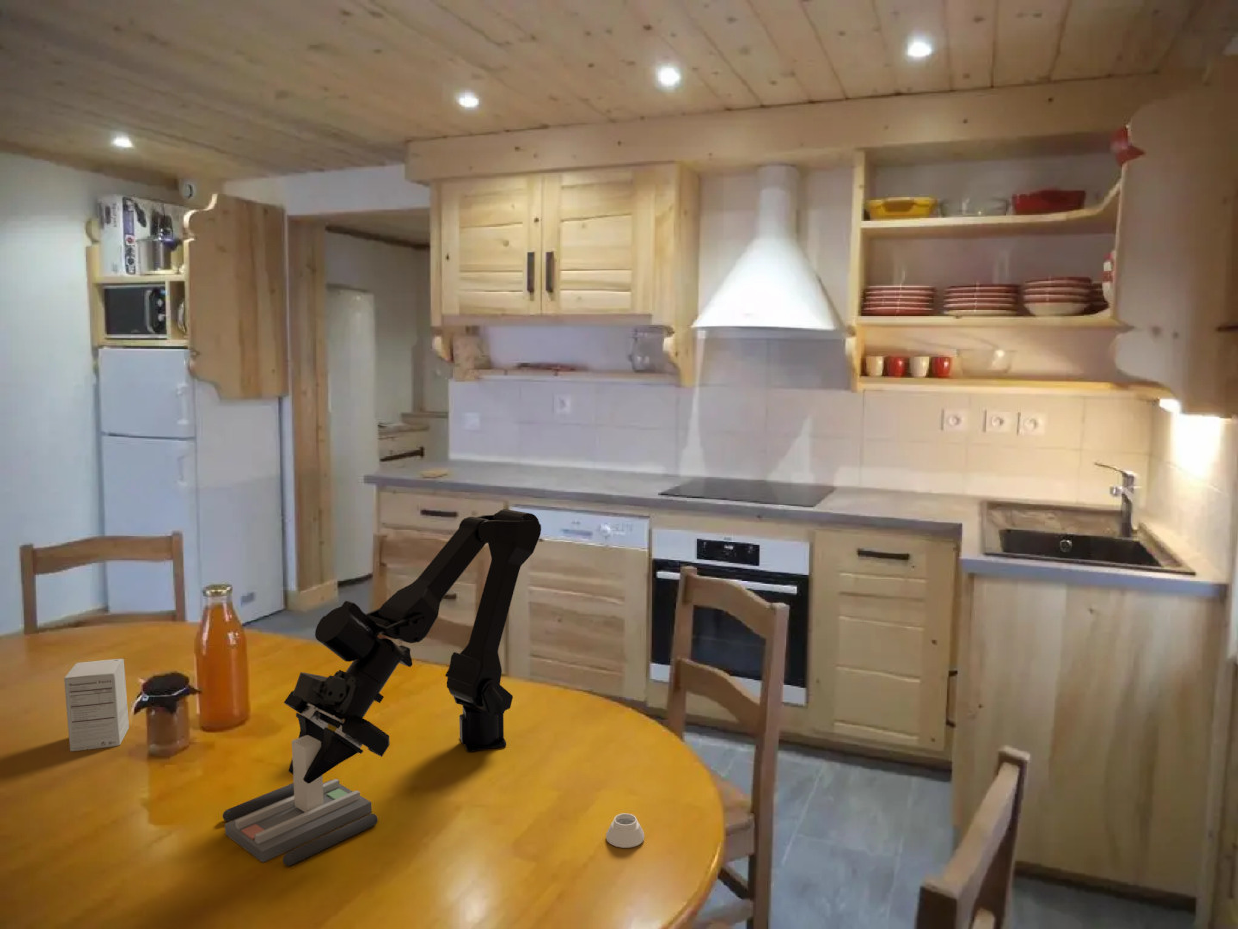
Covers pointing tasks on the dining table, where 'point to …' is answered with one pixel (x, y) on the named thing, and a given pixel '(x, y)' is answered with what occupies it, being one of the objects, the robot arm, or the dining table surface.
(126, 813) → the dining table surface
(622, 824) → the lidless jar
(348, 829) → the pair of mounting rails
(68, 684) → the supplement box
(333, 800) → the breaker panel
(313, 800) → the handle
